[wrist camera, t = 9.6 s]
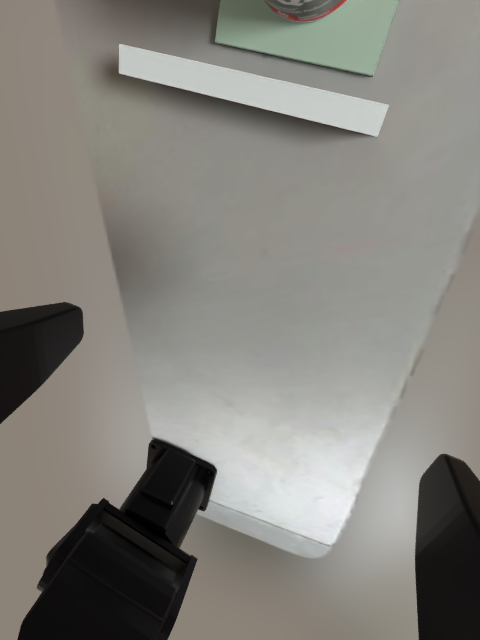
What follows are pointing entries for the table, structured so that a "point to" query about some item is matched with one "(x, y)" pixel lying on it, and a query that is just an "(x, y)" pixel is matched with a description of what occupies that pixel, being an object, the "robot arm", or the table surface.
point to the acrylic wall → (254, 90)
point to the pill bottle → (305, 9)
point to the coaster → (310, 33)
